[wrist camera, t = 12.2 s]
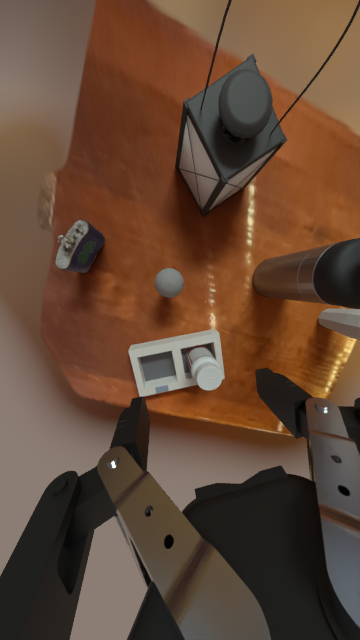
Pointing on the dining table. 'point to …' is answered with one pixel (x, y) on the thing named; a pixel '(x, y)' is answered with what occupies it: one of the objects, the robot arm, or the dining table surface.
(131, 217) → the dining table surface
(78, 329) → the dining table surface
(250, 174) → the lantern
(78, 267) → the flask
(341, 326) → the faceted bottle
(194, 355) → the pill bottle
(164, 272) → the light bulb
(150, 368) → the socket block
